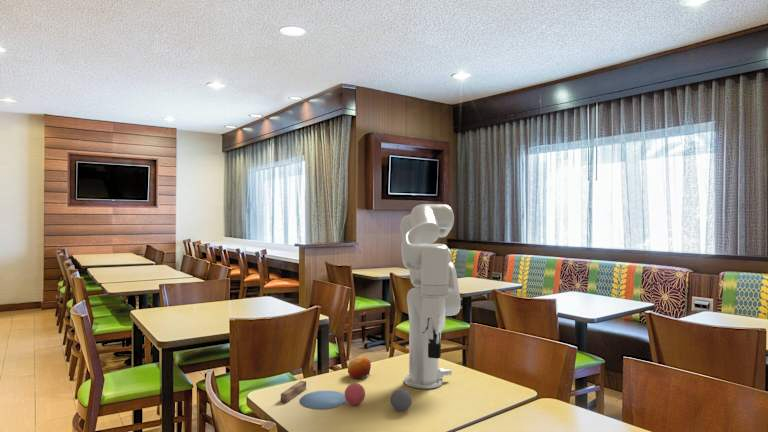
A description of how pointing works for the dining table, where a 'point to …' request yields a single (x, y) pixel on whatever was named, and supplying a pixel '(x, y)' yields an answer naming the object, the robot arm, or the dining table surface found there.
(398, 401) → the grey ball
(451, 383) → the dining table surface
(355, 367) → the fruit
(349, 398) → the object ball
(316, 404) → the blue flat disc
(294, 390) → the wall
